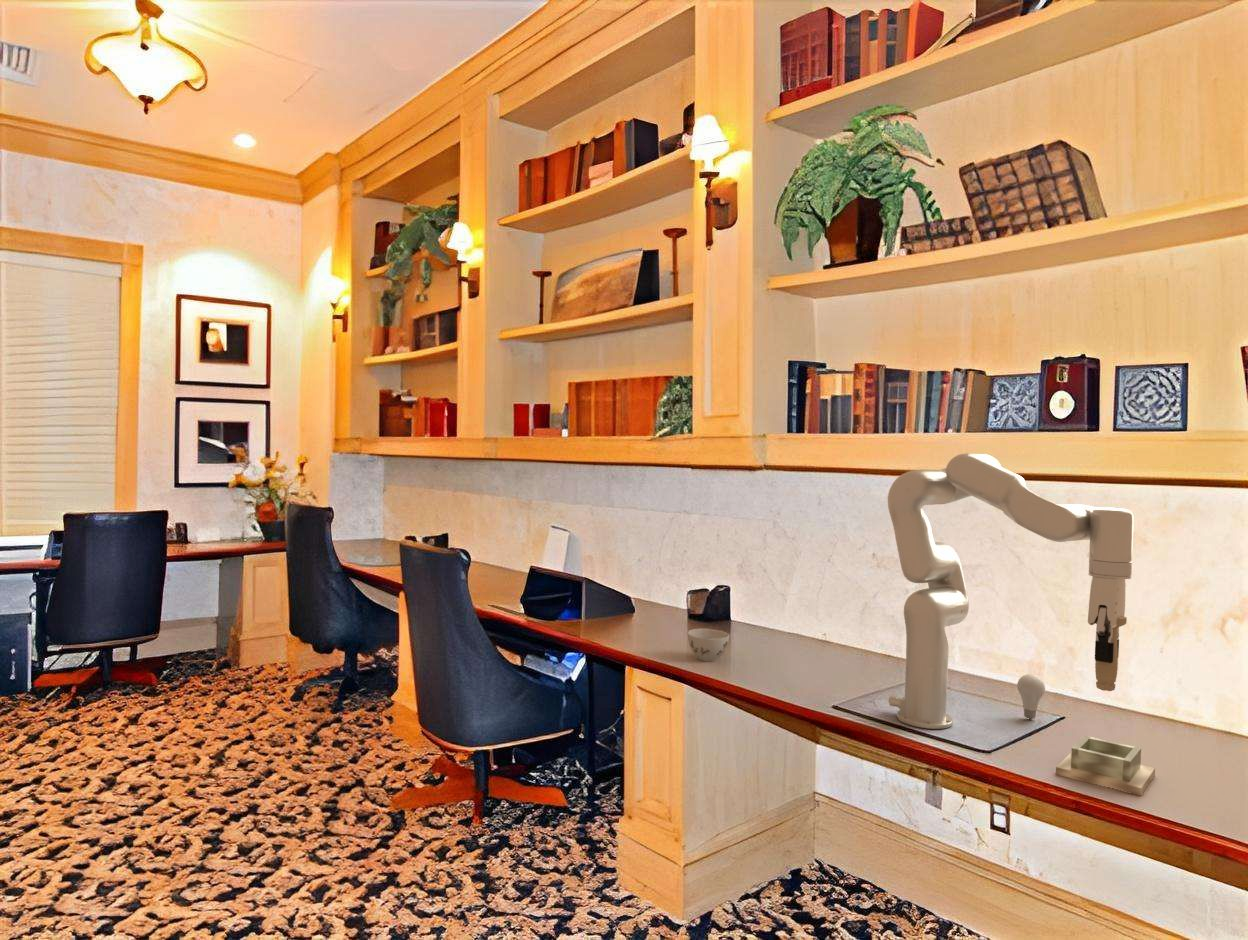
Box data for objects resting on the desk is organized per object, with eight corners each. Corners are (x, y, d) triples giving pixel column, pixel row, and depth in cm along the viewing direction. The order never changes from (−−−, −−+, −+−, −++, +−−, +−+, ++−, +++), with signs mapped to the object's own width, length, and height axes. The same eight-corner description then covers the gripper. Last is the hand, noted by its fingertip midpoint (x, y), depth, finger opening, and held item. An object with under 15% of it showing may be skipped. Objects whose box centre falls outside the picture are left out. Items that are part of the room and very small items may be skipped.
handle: (1095, 683, 179) (1097, 611, 178) (1127, 691, 173) (1130, 617, 173) (1083, 687, 176) (1086, 614, 175) (1116, 695, 171) (1119, 619, 170)
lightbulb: (1042, 725, 205) (1044, 679, 205) (1014, 720, 208) (1016, 675, 208) (1044, 718, 211) (1046, 673, 210) (1017, 713, 214) (1018, 669, 213)
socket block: (1055, 774, 174) (1056, 747, 174) (1073, 756, 185) (1074, 730, 185) (1140, 795, 165) (1142, 767, 164) (1154, 775, 175) (1156, 748, 175)
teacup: (707, 666, 251) (708, 639, 250) (678, 657, 260) (678, 631, 260) (742, 659, 260) (743, 633, 260) (713, 651, 270) (714, 625, 270)
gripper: (1099, 563, 183) (1095, 649, 183) (1078, 571, 170) (1075, 663, 171) (1139, 567, 178) (1136, 656, 178) (1121, 575, 165) (1118, 670, 166)
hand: (1106, 658), depth 174 cm, fingers closed on handle, 3 cm apart
